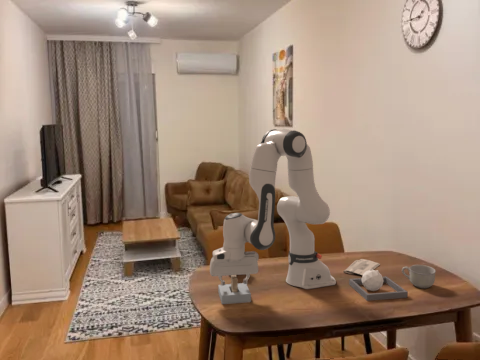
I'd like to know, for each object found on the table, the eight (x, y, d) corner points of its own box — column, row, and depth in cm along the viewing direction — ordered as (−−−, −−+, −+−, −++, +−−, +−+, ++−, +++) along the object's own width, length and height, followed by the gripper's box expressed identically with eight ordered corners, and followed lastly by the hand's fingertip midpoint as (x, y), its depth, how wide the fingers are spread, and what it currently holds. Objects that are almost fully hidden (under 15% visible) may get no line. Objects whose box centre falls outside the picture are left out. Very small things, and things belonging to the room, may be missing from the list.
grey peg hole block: (245, 290, 191) (245, 282, 190) (250, 302, 179) (250, 293, 179) (218, 292, 189) (218, 284, 188) (221, 304, 177) (221, 295, 177)
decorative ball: (366, 288, 199) (378, 265, 196) (378, 302, 190) (391, 279, 186) (350, 284, 196) (361, 262, 193) (362, 299, 186) (374, 275, 183)
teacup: (438, 285, 196) (439, 268, 194) (429, 292, 188) (430, 274, 187) (407, 277, 205) (408, 261, 204) (397, 284, 197) (398, 267, 196)
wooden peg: (235, 292, 186) (235, 274, 185) (237, 297, 181) (237, 278, 180) (231, 292, 186) (230, 274, 185) (232, 297, 181) (232, 279, 180)
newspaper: (356, 261, 231) (357, 256, 230) (379, 268, 224) (380, 263, 223) (338, 273, 212) (339, 268, 212) (363, 281, 205) (363, 276, 205)
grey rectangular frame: (386, 281, 200) (386, 276, 200) (407, 297, 183) (407, 291, 182) (349, 284, 197) (349, 279, 197) (366, 300, 180) (367, 294, 179)
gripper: (257, 248, 186) (257, 280, 188) (208, 251, 183) (209, 283, 185) (260, 253, 180) (260, 285, 182) (210, 256, 176) (210, 288, 178)
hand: (234, 284), depth 183 cm, fingers open, 8 cm apart
